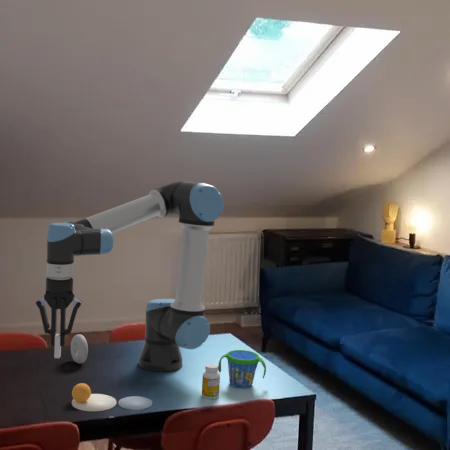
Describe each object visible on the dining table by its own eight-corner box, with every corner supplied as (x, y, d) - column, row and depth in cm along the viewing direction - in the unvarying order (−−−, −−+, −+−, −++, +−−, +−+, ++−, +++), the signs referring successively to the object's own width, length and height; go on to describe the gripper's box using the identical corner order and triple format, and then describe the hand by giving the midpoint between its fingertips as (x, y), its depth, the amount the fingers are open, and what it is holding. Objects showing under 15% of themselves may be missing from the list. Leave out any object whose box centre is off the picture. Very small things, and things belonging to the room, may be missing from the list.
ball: (67, 391, 204) (80, 403, 205) (68, 395, 199) (81, 408, 200) (81, 377, 205) (94, 390, 206) (82, 381, 200) (95, 394, 201)
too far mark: (152, 397, 210) (152, 396, 210) (152, 410, 200) (152, 409, 200) (118, 396, 209) (118, 396, 209) (117, 409, 199) (117, 409, 199)
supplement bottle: (201, 392, 216) (202, 362, 215) (218, 392, 217) (220, 363, 215) (201, 398, 211) (203, 368, 210) (219, 399, 211) (221, 368, 210)
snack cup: (268, 383, 228) (270, 353, 226) (260, 394, 218) (262, 363, 216) (223, 375, 232) (225, 346, 231) (213, 386, 222) (215, 355, 221)
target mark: (117, 394, 210) (117, 394, 210) (115, 411, 197) (115, 411, 197) (74, 394, 209) (74, 393, 209) (69, 411, 196) (69, 410, 196)
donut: (89, 366, 233) (90, 338, 232) (79, 368, 231) (80, 339, 230) (78, 357, 242) (78, 330, 240) (68, 359, 240) (69, 331, 238)
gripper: (34, 279, 192) (32, 360, 195) (81, 280, 194) (79, 361, 197) (38, 273, 200) (36, 352, 203) (84, 275, 201) (81, 353, 204)
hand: (57, 356), depth 200 cm, fingers closed
